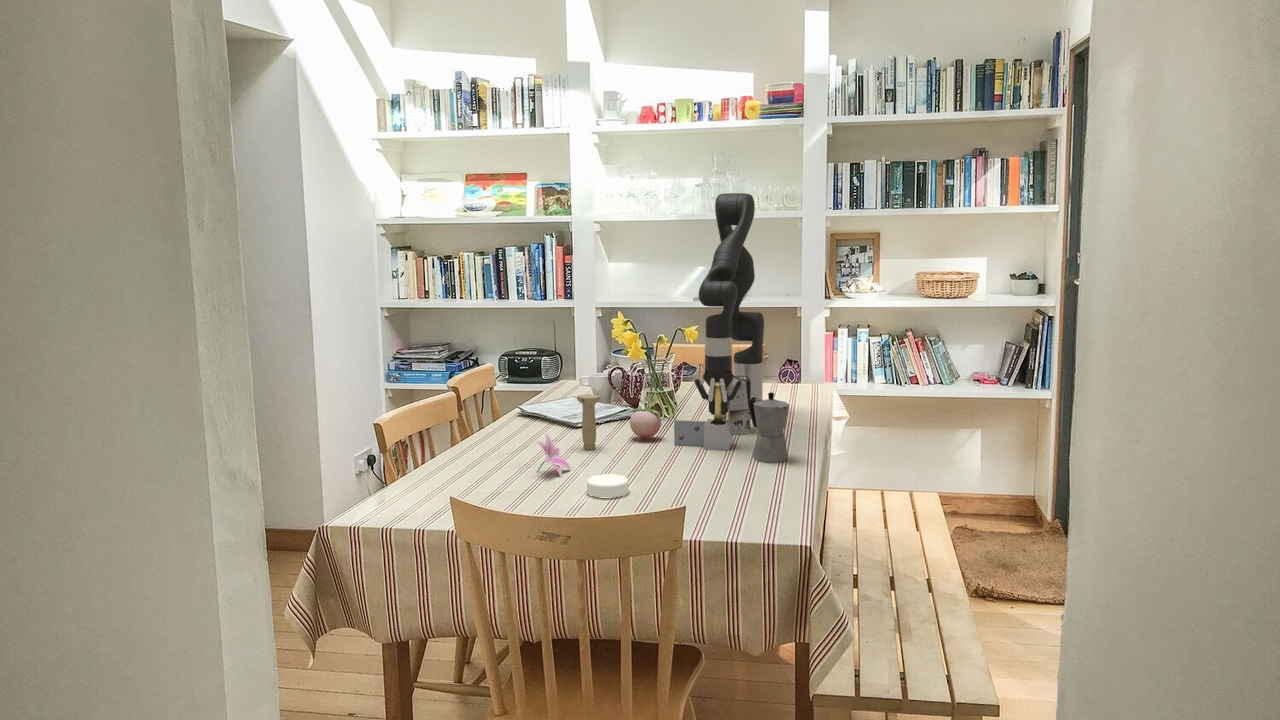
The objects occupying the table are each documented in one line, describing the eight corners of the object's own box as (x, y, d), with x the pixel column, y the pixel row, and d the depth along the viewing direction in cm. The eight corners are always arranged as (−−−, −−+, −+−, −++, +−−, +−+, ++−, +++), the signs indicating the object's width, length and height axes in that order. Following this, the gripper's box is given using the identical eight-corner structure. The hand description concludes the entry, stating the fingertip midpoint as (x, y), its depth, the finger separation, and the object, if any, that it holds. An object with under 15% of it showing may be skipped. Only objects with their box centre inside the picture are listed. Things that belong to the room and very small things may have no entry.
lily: (539, 486, 240) (558, 453, 238) (511, 460, 247) (529, 428, 245) (570, 489, 249) (588, 458, 248) (542, 464, 256) (559, 434, 255)
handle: (593, 452, 268) (592, 398, 265) (575, 449, 271) (573, 396, 269) (603, 448, 272) (602, 395, 269) (585, 445, 275) (584, 393, 273)
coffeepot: (800, 461, 256) (801, 394, 253) (773, 466, 251) (774, 398, 248) (762, 449, 268) (762, 385, 266) (735, 454, 263) (736, 389, 260)
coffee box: (750, 434, 286) (751, 380, 283) (728, 434, 286) (729, 380, 283) (748, 427, 295) (748, 375, 292) (726, 427, 295) (726, 375, 292)
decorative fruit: (626, 442, 278) (625, 408, 277) (633, 435, 286) (632, 402, 284) (658, 444, 276) (657, 409, 274) (664, 437, 284) (663, 403, 282)
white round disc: (605, 485, 237) (605, 471, 237) (637, 492, 231) (637, 478, 231) (578, 494, 230) (577, 480, 229) (609, 502, 223) (609, 487, 223)
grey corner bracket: (683, 434, 287) (682, 411, 286) (736, 436, 283) (736, 413, 282) (672, 447, 272) (672, 423, 270) (728, 450, 268) (729, 425, 267)
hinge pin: (713, 425, 273) (713, 379, 271) (725, 425, 272) (725, 380, 270) (711, 427, 270) (710, 382, 268) (723, 428, 269) (723, 382, 267)
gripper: (745, 351, 270) (745, 412, 272) (695, 350, 273) (696, 410, 276) (741, 355, 263) (741, 418, 265) (691, 354, 266) (691, 416, 269)
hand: (718, 414), depth 270 cm, fingers closed on hinge pin, 2 cm apart
